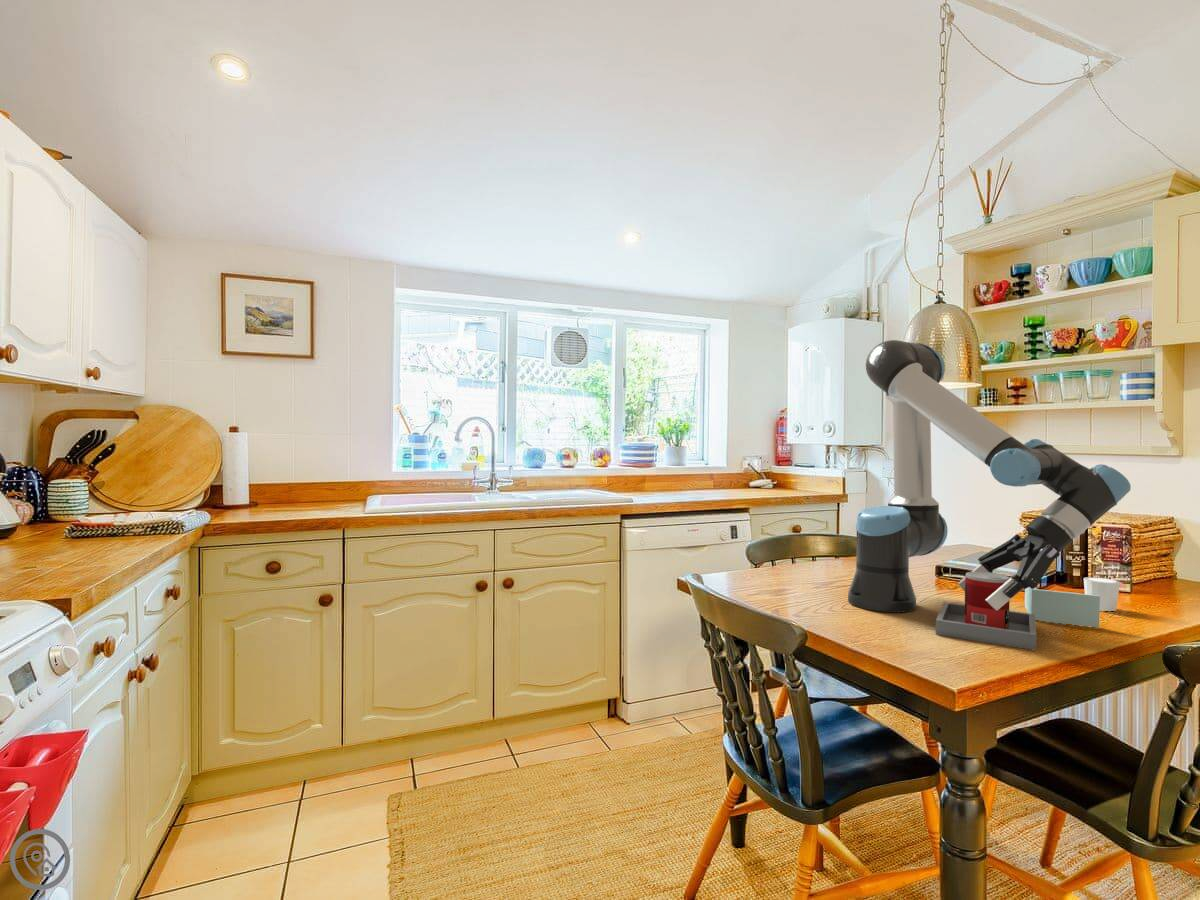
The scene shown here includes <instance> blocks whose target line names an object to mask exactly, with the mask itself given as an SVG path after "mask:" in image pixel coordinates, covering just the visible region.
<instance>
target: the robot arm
mask: <svg viewBox="0 0 1200 900" xmlns="http://www.w3.org/2000/svg"><path fill="white" fill-rule="evenodd" d="M945 365H946V364H945V360H944V358H943V357H942V355H941V353H940V352H939V351H938V350H936V349H935V348H934V347H931V346H930V345H927V344H924V343H919V342H917V343H915V342H909V341H903V340H897V339H890V340H885V341H882V342H880V343H878V344H877V345H875V346H874V347H873V348H872V349H871V351H870V352H869V353H868V355H867V357H866V360H865V371H866V374H867V376H868V378H869V379H870V381H871V382H872V383H873V384H874V385H875V386H876V387H878V388H879V389H881V390H882V391H883V392H884V393H885V396H886V399H887V400H889V402H891V403H892V426H893V427H892V428H893V429H892V431H893V432H892V433H893V435H892V437H893V439H892V440H893V489H894V490H893V493H894V495H893V497H892V498H891V499H889V500H888V502H887V505H880V506H871V507H870V506H869V507H866V508H863V509H861V510H860V511H859V512H858V513H857V517H856V525H855V529H856V541H855V542H856V545H855V547H856V549H855V550H856V551H855V552H856V553H855V554H856V561H855V563H856V564H855V566H856V568H855V572H854V573H855V574H854V576H853V577H852V581H851V583H850V585H849V589H848V593H847V602H848V603H849V604H851V605H852V606H855V607H857V608H860V609H861V608H862V609H865V610H869V611H876V612H884V613H908V612H912V611H915V610H916V609H917V597H916V594H915V593H916V592H915V591H914V587H913V584H912V582H911V579H910V575H909V569H910V567H909V565H910V558H912V557H916V556H917V557H918V556H920V557H922V556H926V555H930V554H931V553H934V552H936V551H938V550H939V549H940V548H942V546H943V545H944V543H945V542H946V540H947V537H948V532H949V531H948V525H947V521H946V519H945V518H944V517H943V516H942V515H941V513H940V510H939V509H940V506H939V505H940V504H939V502H938V501H937V500H936V499H935V498H934V497H933V495H932V494H933V493H932V492H933V491H932V490H933V489H932V437H931V436H932V435H931V433H932V431H931V428H932V427H931V423H932V424H933V425H935V427H937V428H938V429H939V430H941V431H942V432H944V433H945V434H946V435H947V436H949V437H950V438H951V439H952V440H953V441H955V442H956V443H958V444H959V446H960V445H961V446H962V447H963V448H964V449H965V450H967V451H968V452H970V453H971V454H972V455H973V456H974V457H976V458H977V459H979V460H980V461H981V462H982V463H983V464H985V465H986V466H987V467H988V468H989V469H990V470H989V471H990V472H991V475H992V476H993V478H994V480H996V482H998V483H1000V484H1002V485H1005V486H1009V487H1026V486H1031V485H1042V486H1043V487H1046V488H1047V489H1049V490H1050V491H1052V492H1053V493H1054V494H1057V495H1058V496H1059V497H1058V498H1057V499H1055V500H1054V501H1053V502H1052V503H1051V504H1050V505H1048V506H1047V507H1046V508H1045V509H1043V511H1042V512H1041V515H1039V516H1036V517H1035V518H1034V519H1033V520H1032V521H1030V522H1028V524H1027V525H1026V527H1025V530H1026V532H1027V535H1026V536H1025V537H1023V538H1022V537H1021V535H1020V534H1015V535H1013V536H1012V537H1011V538H1009V539H1008V540H1007V541H1006V542H1003V543H1002V544H1000V545H999V546H997V547H995V548H993V549H992V550H990V551H989V552H986V553H985V554H983V555H982V556H979V558H977V560H978V562H979V564H978V565H977V566H976V567H975V568H974V569H972V570H971V572H990V573H994V572H993V571H994V570H997V569H999V568H1001V567H1003V566H1006V565H1008V564H1010V563H1013V562H1020V565H1019V566H1018V568H1017V570H1016V573H1015V574H1012V575H1011V576H1010V577H1009V578H1010V579H1009V580H1008V581H1006V582H1005V583H1004V584H1003V585H1002V586H1001V587H999V588H998V589H997V590H996V591H995V592H994V593H992V594H991V595H990V596H989V597H988V598H987V599H985V600H986V601H987V602H988V603H989V604H990V605H991V606H992V607H993V608H994V609H995V610H999V609H1000V608H1001V607H1002V606H1003V605H1004V604H1006V603H1007V602H1008V601H1009V600H1010V601H1011V600H1012V599H1013V598H1014V597H1015V596H1016V595H1017V594H1019V593H1020V592H1021V591H1022V590H1023V589H1024V590H1025V589H1026V588H1028V587H1030V588H1031V589H1034V588H1035V587H1036V588H1037V586H1038V584H1039V583H1040V582H1041V581H1042V579H1043V577H1044V575H1046V572H1048V570H1049V569H1050V567H1051V565H1052V564H1053V562H1054V561H1055V560H1056V559H1057V558H1058V557H1059V556H1060V555H1061V552H1062V551H1063V550H1064V549H1065V548H1067V546H1069V545H1070V544H1071V543H1072V540H1073V539H1075V540H1076V539H1077V538H1078V537H1079V536H1080V535H1084V534H1086V533H1085V532H1086V530H1087V529H1088V528H1089V527H1091V526H1092V525H1093V524H1094V523H1095V522H1097V521H1098V520H1099V519H1100V518H1101V517H1103V516H1105V514H1107V513H1108V512H1109V511H1110V510H1111V509H1113V508H1114V507H1116V506H1117V505H1118V503H1119V502H1120V501H1121V500H1123V498H1124V497H1125V496H1127V494H1128V493H1129V492H1130V491H1131V483H1130V481H1129V480H1128V478H1127V477H1126V476H1125V475H1123V474H1122V473H1121V472H1120V471H1118V470H1117V469H1115V468H1113V467H1111V466H1108V465H1106V464H1102V463H1101V464H1099V463H1098V464H1096V465H1095V466H1093V467H1091V468H1088V467H1087V466H1085V465H1082V464H1081V463H1079V462H1077V461H1076V460H1075V459H1073V458H1071V457H1070V456H1068V455H1066V454H1065V453H1063V452H1061V451H1060V450H1059V449H1057V448H1055V446H1053V445H1052V444H1048V443H1047V442H1044V441H1042V440H1041V439H1038V438H1033V439H1032V438H1031V439H1030V440H1029V441H1026V442H1025V443H1022V442H1021V441H1019V440H1018V439H1016V438H1014V436H1012V435H1011V434H1010V433H1009V432H1008V431H1006V430H1004V429H1003V428H1001V427H1000V426H998V424H996V423H994V421H992V420H990V419H989V418H988V417H986V416H984V414H982V413H981V412H979V411H978V410H977V409H975V408H974V407H972V406H971V405H970V404H968V403H967V402H965V401H964V400H963V399H961V398H960V397H958V396H957V395H955V394H954V393H953V392H952V391H950V390H949V389H947V388H946V387H945V386H943V385H942V384H940V382H941V381H942V379H944V375H945V372H946V366H945ZM957 585H958V586H959V587H960V588H961V589H962V590H963V591H964V592H965V577H963V579H961V580H960V581H959V582H957Z"/></svg>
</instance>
